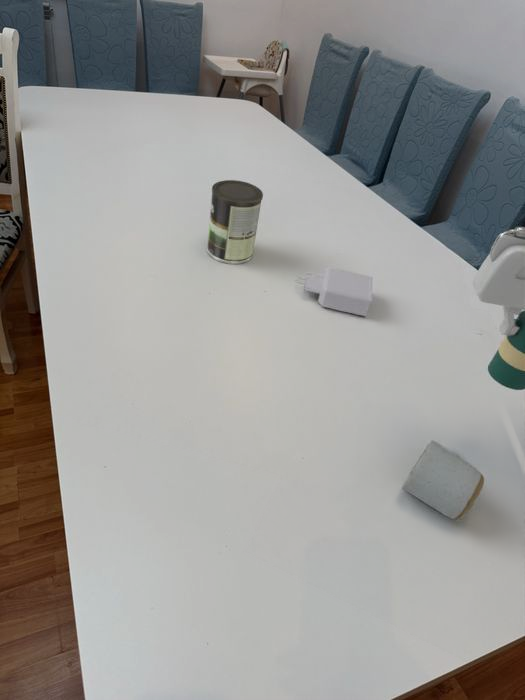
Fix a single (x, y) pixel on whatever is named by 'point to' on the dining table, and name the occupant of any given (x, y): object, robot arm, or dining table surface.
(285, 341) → the dining table surface
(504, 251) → the robot arm
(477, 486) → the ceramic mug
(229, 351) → the dining table surface
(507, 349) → the bottle
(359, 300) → the charger
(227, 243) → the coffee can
